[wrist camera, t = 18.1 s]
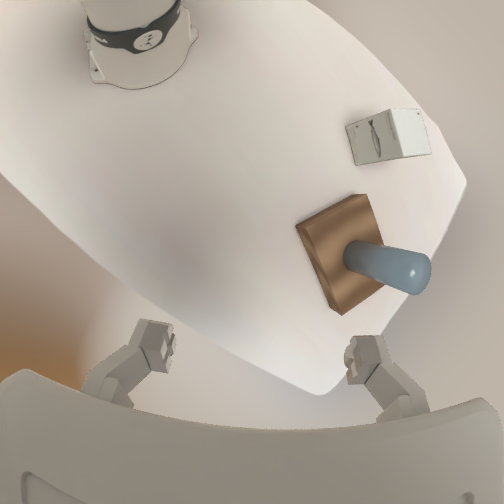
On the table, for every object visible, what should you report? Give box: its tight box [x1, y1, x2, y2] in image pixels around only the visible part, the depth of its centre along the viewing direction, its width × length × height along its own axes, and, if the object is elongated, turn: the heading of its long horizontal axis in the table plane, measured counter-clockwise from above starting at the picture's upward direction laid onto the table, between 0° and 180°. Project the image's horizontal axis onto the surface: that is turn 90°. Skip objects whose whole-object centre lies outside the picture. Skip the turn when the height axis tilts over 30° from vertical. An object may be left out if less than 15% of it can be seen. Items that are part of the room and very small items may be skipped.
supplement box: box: [346, 109, 432, 165], centre depth 37 cm, size 7×7×13 cm
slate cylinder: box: [343, 240, 431, 295], centre depth 34 cm, size 5×5×14 cm
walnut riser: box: [296, 194, 385, 316], centre depth 43 cm, size 16×12×4 cm
